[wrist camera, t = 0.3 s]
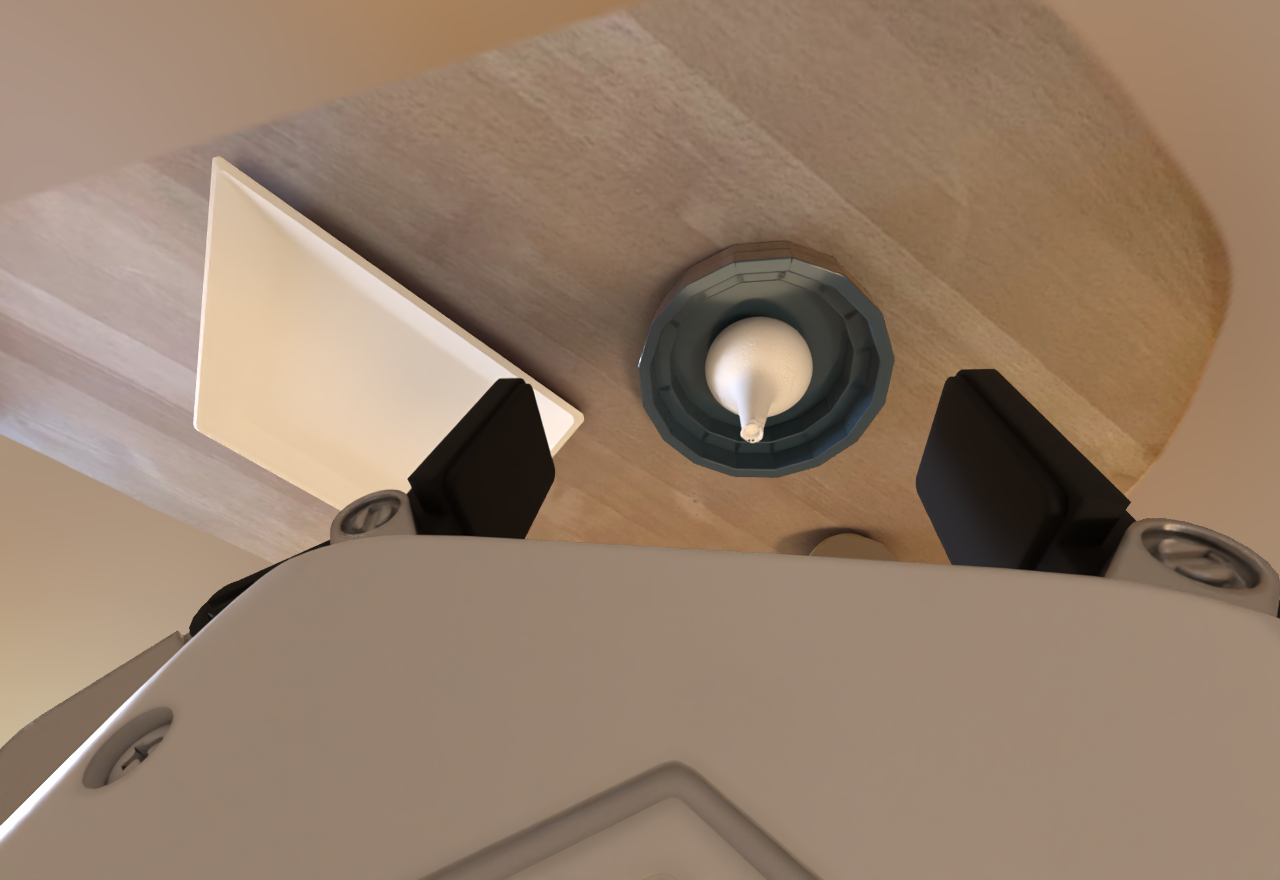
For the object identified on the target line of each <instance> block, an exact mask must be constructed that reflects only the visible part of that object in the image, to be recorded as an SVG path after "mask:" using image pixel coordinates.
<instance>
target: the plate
mask: <svg viewBox="0 0 1280 880" xmlns="http://www.w3.org/2000/svg"><path fill="white" fill-rule="evenodd" d="M499 378H522V379H524V381H525V382H526V384H530V385H531V386H532V388H533V390H534V394H535V398H536V401H537V405H538V409H539V412H540V416H541V420H542V423H543V427H544V431H545V434H546V438H547V441H548V445H549V449H550V452H551V456H552V458H553V457H554V455H555V454H556V453H557V452H558V451H559V450H560V448H561V447H562V446H563V445H564V444H565V442H566V441H567V440H568V439H569V438H570V437H571V435H572V434H573V433H574V432H575V431H576V430H577V428H578V427H579V426H580V425H581V424H582V423H583V421H584V417H583V414H582V413H581V412H579V411H578V410H577V409H575V408H574V407H572V406H571V405H570V404H568V403H567V402H565V401H564V400H563V399H561V398H560V397H558V396H557V395H556V394H554V393H553V392H551V391H550V390H549V389H547V388H546V387H544V386H543V385H541V384H540V383H539V382H537V381H536V380H534V379H533V378H532V377H530V376H529V375H527V374H526V373H525V372H523V371H522V370H520V369H519V368H518V367H516V366H515V365H513V364H512V363H510V362H509V361H508V360H506V359H505V358H503V357H502V356H501V355H499V354H498V353H496V352H495V351H494V350H492V349H491V348H489V347H488V346H487V345H485V344H484V343H482V342H481V341H479V340H478V339H477V338H475V337H474V336H472V335H471V334H470V333H468V332H467V331H465V330H464V329H463V328H461V327H460V326H458V325H457V324H456V323H454V322H453V321H451V320H450V319H449V318H447V317H446V316H444V315H443V314H441V313H440V312H439V311H437V310H436V309H434V308H433V307H432V306H430V305H429V304H427V303H426V302H425V301H423V300H422V299H420V298H419V297H418V296H416V295H415V294H413V293H412V292H410V291H409V290H408V289H406V288H405V287H403V286H402V285H401V284H399V283H398V282H396V281H395V280H394V279H392V278H391V277H389V276H388V275H387V274H385V273H384V272H382V271H381V270H380V269H378V268H377V267H375V266H374V265H372V264H371V263H370V262H368V261H367V260H365V259H364V258H363V257H361V256H360V255H358V254H357V253H356V252H354V251H353V250H351V249H350V248H349V247H347V246H346V245H344V244H343V243H341V242H340V241H339V240H337V239H336V238H334V237H333V236H332V235H330V234H329V233H327V232H326V231H325V230H323V229H322V228H320V227H319V226H318V225H316V224H315V223H313V222H312V221H310V220H309V219H308V218H306V217H305V216H303V215H302V214H301V213H299V212H298V211H296V210H295V209H294V208H292V207H291V206H289V205H288V204H287V203H285V202H284V201H282V200H281V199H280V198H278V197H277V196H275V195H274V194H272V193H271V192H270V191H268V190H267V189H265V188H264V187H263V186H261V185H260V184H258V183H257V182H256V181H254V180H253V179H251V178H250V177H249V176H247V175H246V174H244V173H243V172H241V171H240V170H239V169H237V168H236V167H234V166H233V165H232V164H230V163H229V162H227V161H226V160H225V159H223V158H222V157H220V156H219V157H214V158H213V160H212V174H211V188H210V202H209V215H208V229H207V243H206V257H205V271H204V284H203V298H202V312H201V326H200V340H199V353H198V367H197V381H196V395H195V409H194V422H193V426H194V427H195V428H196V429H197V431H199V432H201V433H203V434H205V435H206V436H208V437H210V438H212V439H213V440H215V441H217V442H219V443H221V444H222V445H224V446H226V447H228V448H230V449H231V450H233V451H235V452H237V453H238V454H240V455H242V456H244V457H246V458H247V459H249V460H251V461H253V462H255V463H256V464H258V465H260V466H262V467H263V468H265V469H267V470H269V471H271V472H272V473H274V474H276V475H278V476H280V477H281V478H283V479H285V480H287V481H288V482H290V483H292V484H294V485H296V486H297V487H299V488H301V489H303V490H305V491H306V492H308V493H310V494H312V495H314V496H315V497H317V498H319V499H321V500H322V501H324V502H326V503H328V504H330V505H331V506H333V507H335V508H337V509H339V510H340V511H342V510H343V509H344V508H345V507H346V506H347V505H349V504H350V503H352V502H354V501H355V500H357V499H359V498H361V497H363V496H365V495H367V494H370V493H373V492H377V491H380V490H388V489H394V490H400V491H402V492H404V493H406V494H407V493H408V492H409V490H410V489H411V488H412V487H411V485H410V483H409V482H408V480H407V478H408V477H409V476H410V475H411V474H412V473H413V472H414V471H415V470H416V469H417V467H418V466H419V465H420V464H421V463H422V462H423V461H424V460H425V459H426V458H427V456H428V455H429V454H430V453H431V452H432V451H433V450H434V449H435V448H436V447H437V445H438V444H439V443H440V442H441V441H442V440H443V439H444V438H445V437H446V436H447V434H448V433H449V432H450V431H451V430H452V429H453V428H454V427H455V426H456V425H457V424H458V422H459V421H460V420H461V419H462V418H463V417H464V416H465V415H466V414H467V413H468V411H469V410H470V409H471V408H472V407H473V406H474V405H475V404H476V403H477V402H478V400H479V399H480V398H481V397H482V396H483V395H484V394H485V393H486V392H487V391H488V389H489V388H490V387H491V386H492V385H493V384H494V383H495V382H496V381H497V380H498V379H499Z"/></svg>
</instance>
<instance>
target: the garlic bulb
mask: <svg viewBox="0 0 1280 880" xmlns="http://www.w3.org/2000/svg"><path fill="white" fill-rule="evenodd" d="M812 370H813V363H812V356H811V353H810V350H809V347H808V345H807V343H806V342H805V340H804V339H803V337H802V336H801V335H800V334H799V332H798V331H797V330H795V329H794V328H793V327H791V326H790V325H788V324H787V323H785V322H783V321H780V320H778V319H774V318H769V317H750V318H745V319H742V320H739V321H737V322H735V323H733V324H731V325H729V326H728V327H726V328H725V329H724V330H723V331H722V332H721V333H720V334H719V335H718V336H717V337H716V338H715V340H714V341H713V343H712V345H711V347H710V349H709V352H708V354H707V358H706V363H705V374H706V380H707V384H708V387H709V389H710V391H711V393H712V395H713V396H714V398H715V399H716V400H717V401H718V402H719V403H720V404H721V405H722V406H723V407H724V408H726V409H727V410H729V411H731V412H733V413H734V414H737V415H739V416H740V422H741V427H742V430H741V432H740V433H741V434H740V435H741V436H742V437H743V439H745V441H746V440H747V442H749V441H748V440H749V439H750V443H755V442H759V441H760V440H761V439H762V438H763V434H764V433H763V431H764V429H763V428H764V426H765V422H766V419H767V417H770V416H774V415H777V414H780V413H782V412H784V411H786V410H788V409H789V408H791V407H792V406H793V405H795V404H796V403H797V402H798V401H799V400H800V399H801V398H802V396H803V395H804V393H805V392H806V390H807V388H808V386H809V384H810V381H811V376H812ZM753 439H754V441H752V440H753Z"/></svg>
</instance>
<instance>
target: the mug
mask: <svg viewBox="0 0 1280 880" xmlns="http://www.w3.org/2000/svg"><path fill="white" fill-rule="evenodd" d="M809 556H820V557H837V558H853V559H868V560H884V561H899V560H898V558H897V557H896V556H895V555H894V554H893V553H892V552H891V551H890V550H889V549H888V548H887V547H886V546H885V545H884V544H883V543H881V542H878V541H875V540H872V539H869V538H866V537H863V536H861V535H858V534H854V533H842V534H839V535H835V536H831V537H830V538H826V539H825V540H823V541H822V542H821V543H820V544H818V545H817V546H816V547H815V548H814V549H813V550H812V552H811V553H810V554H809Z"/></svg>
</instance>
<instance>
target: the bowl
mask: <svg viewBox="0 0 1280 880" xmlns="http://www.w3.org/2000/svg"><path fill="white" fill-rule="evenodd" d="M750 317H769V318H774V319H778V320H780V321H783V322H785V323H787V324H788V325H790V326H791V327H793V328H794V329H795V330H797V331H798V332H799V334H800V335H801V336H802V337H803V339H804V340H805V342H806V343H807V345H808V347H809V350H810V353H811V356H812V363H813V370H812V376H811V381H810V384H809V386H808V388H807V390H806V392H805V393H804V395H803V396H802V398H801V399H800V400H799V401H798V402H797V403H796V404H795V405H793V406H792V407H791V408H789V409H788V410H786V411H784V412H782V413H780V414H777V415H774V416H770V417H767V419H766V422H765V426H764V428H763V429H764V431H763V433H764V434H763V438H762V439H761V440H760V441H759V442H755V443H750V439H749V440H748V441H749V442H747V440H746V441H745V439H743V437H742V436H741V435H740V434H741V433H740V432H741V430H742V427H741V422H740V416H739V415H737V414H734V413H733V412H731V411H729V410H727V409H726V408H724V407H723V406H722V405H721V404H720V403H719V402H718V401H717V400H716V399H715V398H714V396H713V395H712V393H711V391H710V389H709V387H708V384H707V380H706V374H705V363H706V358H707V354H708V352H709V349H710V347H711V345H712V343H713V341H714V340H715V338H716V337H717V336H718V335H719V334H720V333H721V332H722V331H723V330H724V329H725V328H726V327H728V326H729V325H731V324H733V323H735V322H737V321H739V320H742V319H745V318H750ZM638 365H639V366H638V370H639V378H640V386H641V394H642V401H643V407H644V408H645V410H646V412H647V413H648V415H649V417H650V418H651V420H652V422H653V423H654V425H655V427H656V428H657V430H658V432H659V433H660V435H661V437H662V438H663V439H664V441H666V442H667V443H668V444H669V445H671V446H672V447H673V448H675V449H676V450H677V451H679V452H680V453H681V454H682V455H684V456H685V457H686V458H688V459H689V460H690V461H692V462H693V463H694V464H697V465H700V466H703V467H706V468H709V469H712V470H715V471H718V472H721V473H724V474H727V475H730V476H734V477H769V478H778V477H781V476H785V475H789V474H792V473H796V472H800V471H803V470H807V469H810V468H814V467H818V466H820V465H822V464H823V463H825V462H826V461H828V460H829V459H831V458H832V457H834V456H835V455H837V454H838V453H840V452H841V451H843V450H845V449H846V448H848V447H849V446H851V445H852V444H854V443H855V442H857V440H858V439H859V438H860V437H861V435H862V434H863V433H864V431H865V430H866V429H867V427H868V426H869V425H870V423H871V422H872V421H873V419H874V418H875V417H876V415H877V414H878V413H879V411H880V410H881V408H882V407H883V406H884V404H885V401H886V396H887V392H888V387H889V383H890V378H891V374H892V369H893V365H894V354H893V350H892V346H891V343H890V339H889V335H888V332H887V328H886V325H885V321H884V317H883V314H882V312H881V310H880V309H879V308H878V306H877V305H876V304H875V302H874V301H873V299H872V298H871V297H870V295H869V294H868V293H867V291H866V290H865V289H864V288H863V287H862V286H861V285H860V284H859V283H858V282H857V281H856V279H855V278H854V277H853V276H852V275H851V274H850V273H849V272H848V271H847V270H846V269H845V268H844V267H843V266H842V265H841V264H840V263H839V262H838V261H837V260H836V259H835V258H833V257H832V256H829V255H826V254H824V253H821V252H818V251H815V250H812V249H809V248H806V247H804V246H801V245H798V244H795V243H792V242H789V241H776V242H763V243H751V244H739V245H733V246H731V247H729V248H727V249H725V250H723V251H721V252H719V253H717V254H715V255H714V256H712V257H710V258H708V259H706V260H704V261H702V262H700V263H698V264H696V265H694V266H692V267H691V268H689V269H688V270H687V272H686V273H685V274H684V275H683V276H682V277H681V279H680V280H679V281H678V282H677V283H676V284H675V285H674V287H673V288H672V289H671V290H670V291H669V292H668V294H667V295H666V296H665V297H664V298H663V299H662V301H661V302H660V304H659V306H658V309H657V311H656V313H655V316H654V318H653V321H652V323H651V326H650V329H649V332H648V335H647V339H646V342H645V345H644V348H643V351H642V355H641V358H640V361H639V364H638ZM752 441H754V439H753V440H752Z"/></svg>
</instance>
